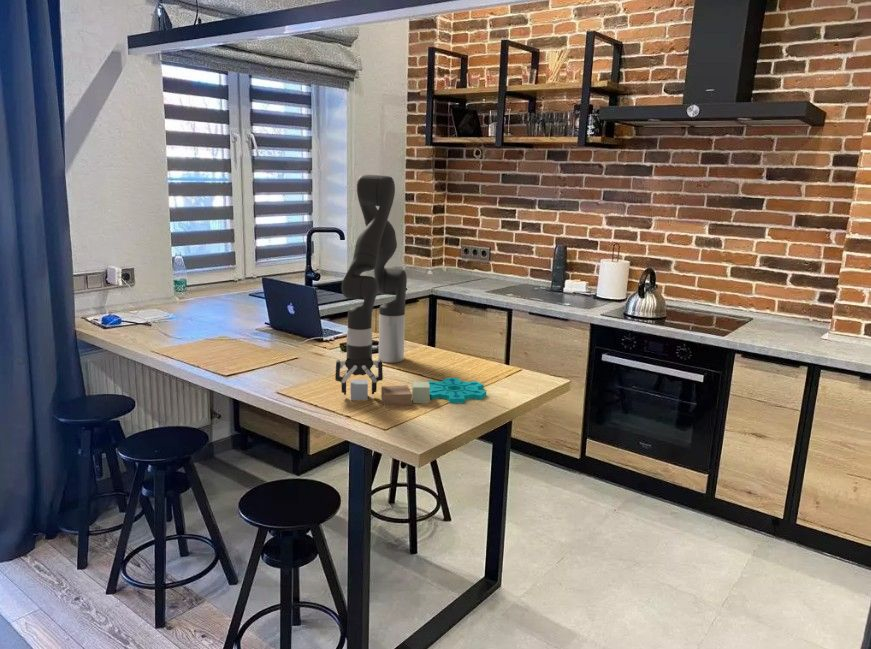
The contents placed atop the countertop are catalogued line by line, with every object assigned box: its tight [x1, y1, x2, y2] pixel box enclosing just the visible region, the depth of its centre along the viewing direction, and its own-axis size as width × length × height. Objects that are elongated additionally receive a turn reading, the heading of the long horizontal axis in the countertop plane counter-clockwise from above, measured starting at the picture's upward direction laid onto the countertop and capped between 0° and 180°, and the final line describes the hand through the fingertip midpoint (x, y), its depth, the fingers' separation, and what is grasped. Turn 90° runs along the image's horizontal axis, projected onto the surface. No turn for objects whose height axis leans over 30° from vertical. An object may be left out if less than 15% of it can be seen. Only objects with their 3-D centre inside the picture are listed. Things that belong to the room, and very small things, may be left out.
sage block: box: [411, 381, 431, 404], centre depth 199 cm, size 5×5×5 cm
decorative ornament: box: [427, 377, 487, 404], centre depth 207 cm, size 20×2×20 cm
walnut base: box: [380, 384, 413, 408], centre depth 196 cm, size 8×8×4 cm
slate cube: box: [349, 379, 369, 401], centre depth 199 cm, size 5×5×5 cm
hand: (358, 393), depth 199 cm, fingers open, 8 cm apart
